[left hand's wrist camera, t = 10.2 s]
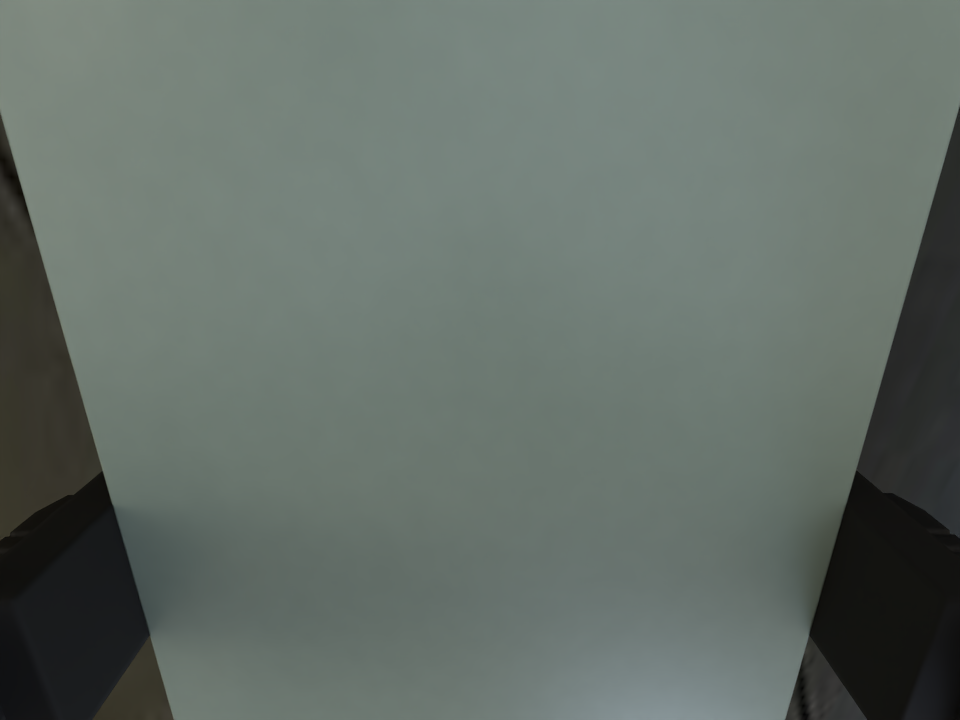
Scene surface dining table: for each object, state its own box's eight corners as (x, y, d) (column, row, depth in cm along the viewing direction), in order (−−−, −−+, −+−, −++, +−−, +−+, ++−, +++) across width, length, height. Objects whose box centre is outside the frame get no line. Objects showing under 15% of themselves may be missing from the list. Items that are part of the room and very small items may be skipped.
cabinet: (256, -167, 14) (-321, -995, 4) (702, -167, 14) (1276, -991, 4) (325, 440, 20) (173, 724, 10) (633, 440, 20) (785, 723, 10)
